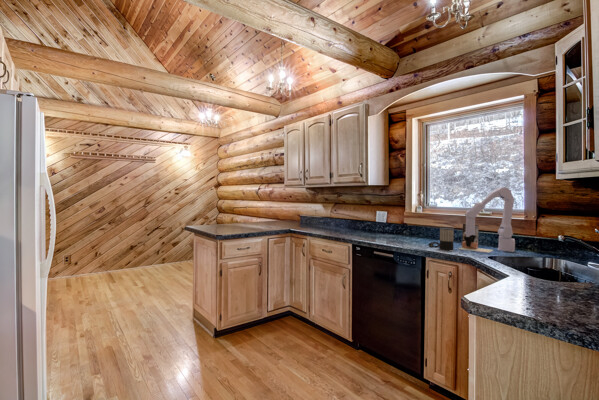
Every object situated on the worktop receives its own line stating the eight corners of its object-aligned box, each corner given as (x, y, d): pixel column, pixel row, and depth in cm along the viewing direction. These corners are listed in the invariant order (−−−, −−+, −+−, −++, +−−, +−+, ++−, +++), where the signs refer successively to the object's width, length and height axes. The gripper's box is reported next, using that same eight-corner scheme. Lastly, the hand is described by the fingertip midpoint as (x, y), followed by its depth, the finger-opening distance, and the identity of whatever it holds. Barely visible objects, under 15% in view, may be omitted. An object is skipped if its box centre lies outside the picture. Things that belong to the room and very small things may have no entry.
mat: (493, 250, 211) (493, 249, 211) (489, 253, 200) (489, 252, 200) (463, 246, 223) (463, 246, 223) (457, 249, 212) (457, 248, 212)
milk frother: (454, 251, 206) (455, 229, 205) (429, 249, 211) (429, 228, 211) (451, 247, 219) (452, 227, 219) (428, 246, 224) (428, 226, 224)
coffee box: (461, 244, 235) (462, 223, 235) (467, 244, 237) (468, 223, 237) (472, 246, 227) (472, 224, 226) (478, 245, 229) (479, 224, 229)
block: (477, 248, 216) (477, 242, 216) (476, 249, 212) (476, 243, 212) (463, 246, 222) (463, 241, 222) (461, 247, 218) (462, 241, 218)
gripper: (466, 225, 225) (466, 244, 225) (461, 227, 214) (460, 246, 214) (477, 226, 220) (476, 245, 220) (472, 228, 209) (472, 247, 210)
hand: (469, 245), depth 217 cm, fingers open, 7 cm apart
